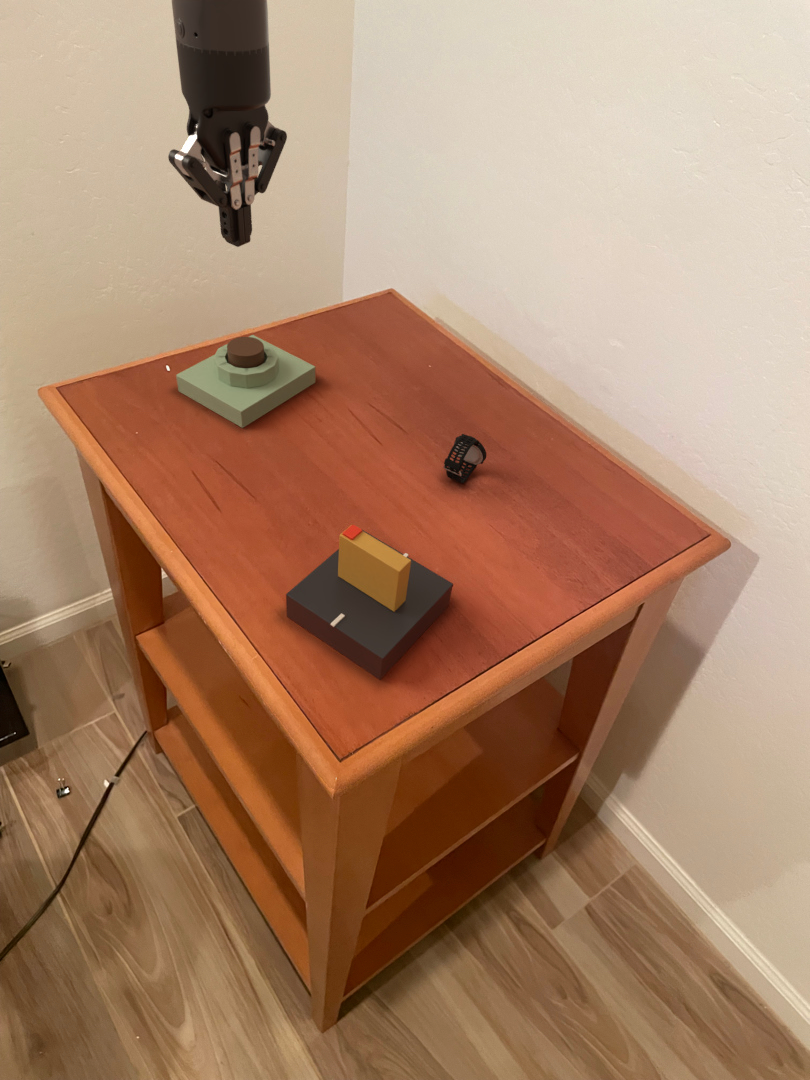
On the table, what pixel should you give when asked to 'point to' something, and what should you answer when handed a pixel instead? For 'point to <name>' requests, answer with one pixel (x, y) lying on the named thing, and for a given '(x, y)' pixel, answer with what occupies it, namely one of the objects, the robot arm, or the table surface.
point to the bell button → (245, 352)
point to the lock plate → (367, 614)
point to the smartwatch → (464, 458)
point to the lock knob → (373, 567)
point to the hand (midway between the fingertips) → (237, 242)
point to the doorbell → (246, 383)
